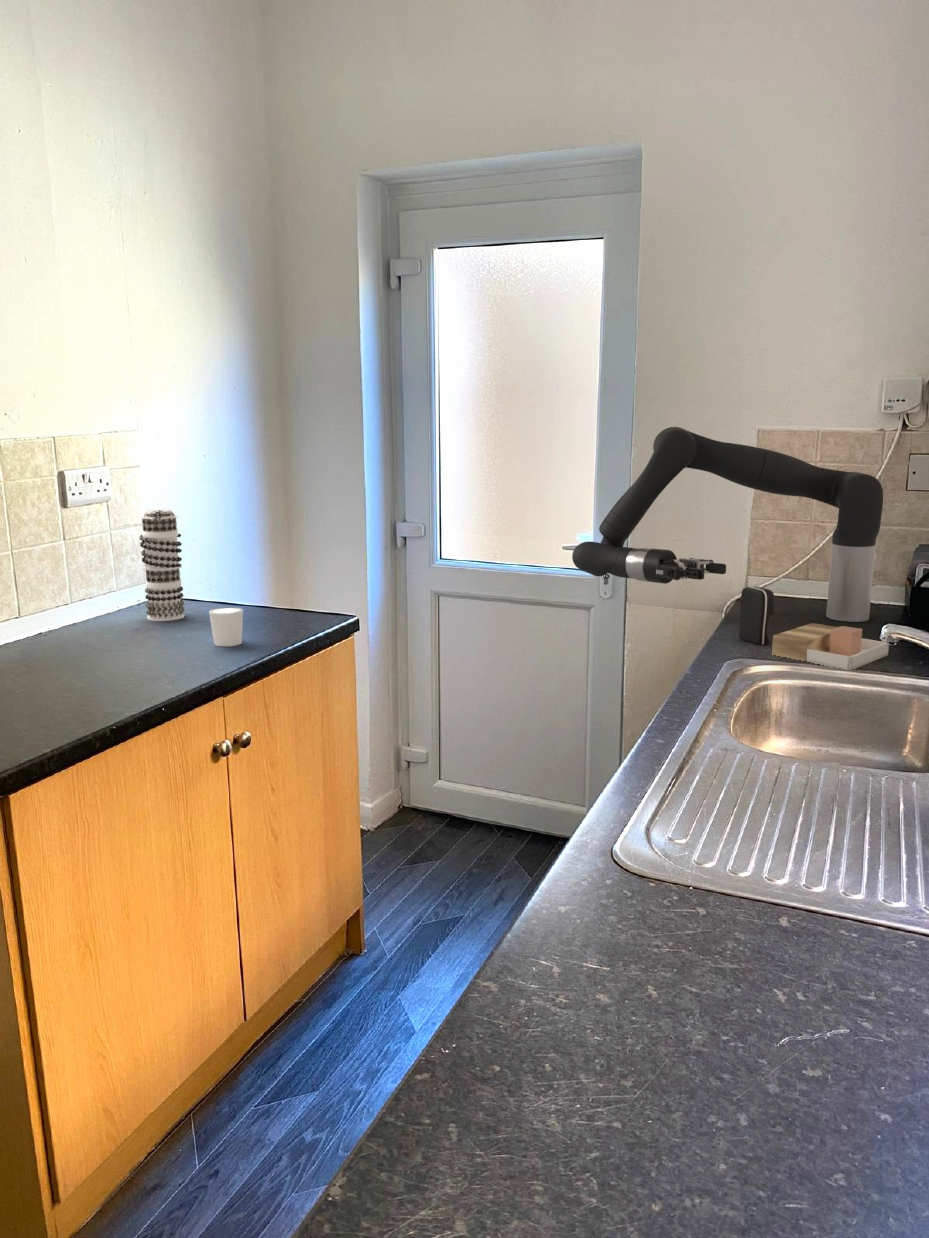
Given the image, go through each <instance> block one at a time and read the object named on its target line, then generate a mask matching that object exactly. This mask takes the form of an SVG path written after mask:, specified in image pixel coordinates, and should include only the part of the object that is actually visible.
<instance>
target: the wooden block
mask: <svg viewBox="0 0 929 1238" xmlns="http://www.w3.org/2000/svg"><path fill="white" fill-rule="evenodd" d="M838 627H839V626H832V625H825V624H820V623H813V622H811V623H809V624H808V623H807V624H804V625H801V626H798V627H795V628H791V629H789V630H786V631H783V632H780V633H776V634H774V635H772V647H771V656H773V655H776V656H775V657H778V656H780V657H779V658H783V657H787V658H786V659H789V658H791V659H790V660H794V659H795V661H799V660H801V661H800V662H804V661H806V659H807V649H811V650H817V651H822V652H827V651H830V638H831V630H833V629H835V628H838Z"/></svg>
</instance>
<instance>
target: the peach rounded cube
mask: <svg viewBox="0 0 929 1238" xmlns="http://www.w3.org/2000/svg"><path fill="white" fill-rule="evenodd" d="M837 627H838V628H835V629H833V630H831V638H830V651H829V653H833V654H839V655H844V656H852V655H855V654H857V653H860V651H861V640H862V638H863V628H858V627H852V626H851V627H850V626H845V625H841V626H837Z"/></svg>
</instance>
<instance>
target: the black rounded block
mask: <svg viewBox="0 0 929 1238" xmlns="http://www.w3.org/2000/svg"><path fill="white" fill-rule="evenodd" d="M775 599H776V598H775V594H774V591H772V590H771V589H768V588H765V587H761V586H746V587H744V588H743V589H742V591H741V595H740V607H739V632H738V633H739V634H738V638H739V639H740V640H742V641H746V642H749V643H752V644H755V645H760V646H763V645H766V644H769V642H770V639H769V636H768V622H769V619H770V616H772V615H774V614H775Z"/></svg>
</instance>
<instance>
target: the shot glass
mask: <svg viewBox="0 0 929 1238" xmlns="http://www.w3.org/2000/svg"><path fill="white" fill-rule="evenodd" d="M208 613H209V621H210V626H211V627H210V628H211V632H212V638H213V639H212V640H213V645H214V646H217V647H234V646H238V645H240V644H242V643H243V621H244V620H243V619H244V609H243V608H239V607H221V608H220V607H218V608H213V609H211V610H209V611H208Z"/></svg>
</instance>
